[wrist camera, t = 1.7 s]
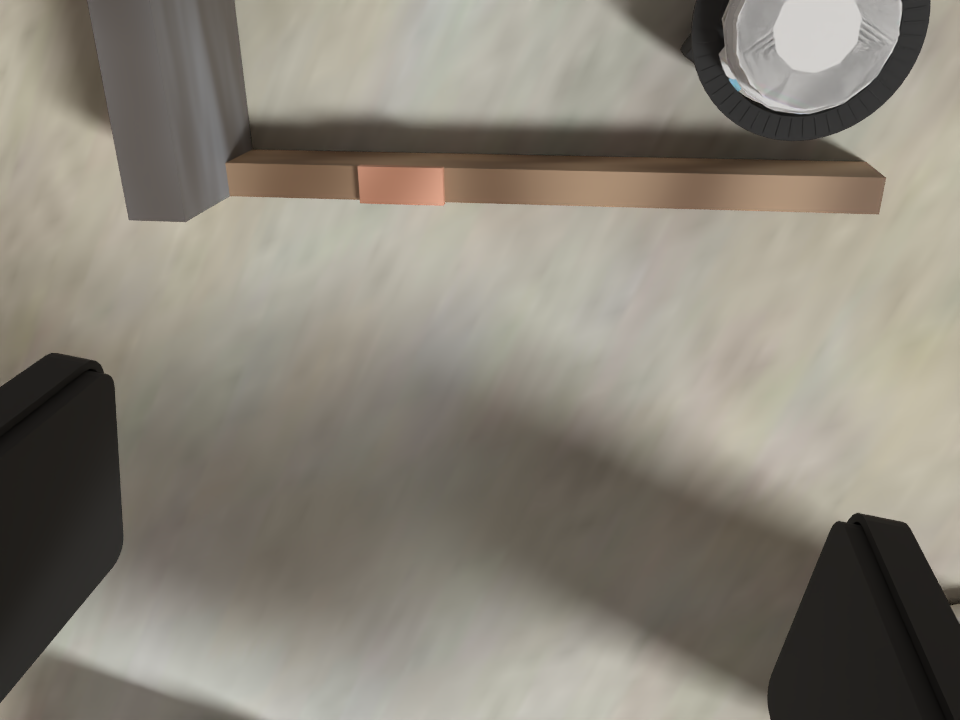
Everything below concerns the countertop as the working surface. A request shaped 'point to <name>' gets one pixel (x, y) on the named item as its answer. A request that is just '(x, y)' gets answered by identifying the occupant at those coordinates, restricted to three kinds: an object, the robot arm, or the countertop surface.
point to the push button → (804, 60)
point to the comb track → (379, 175)
